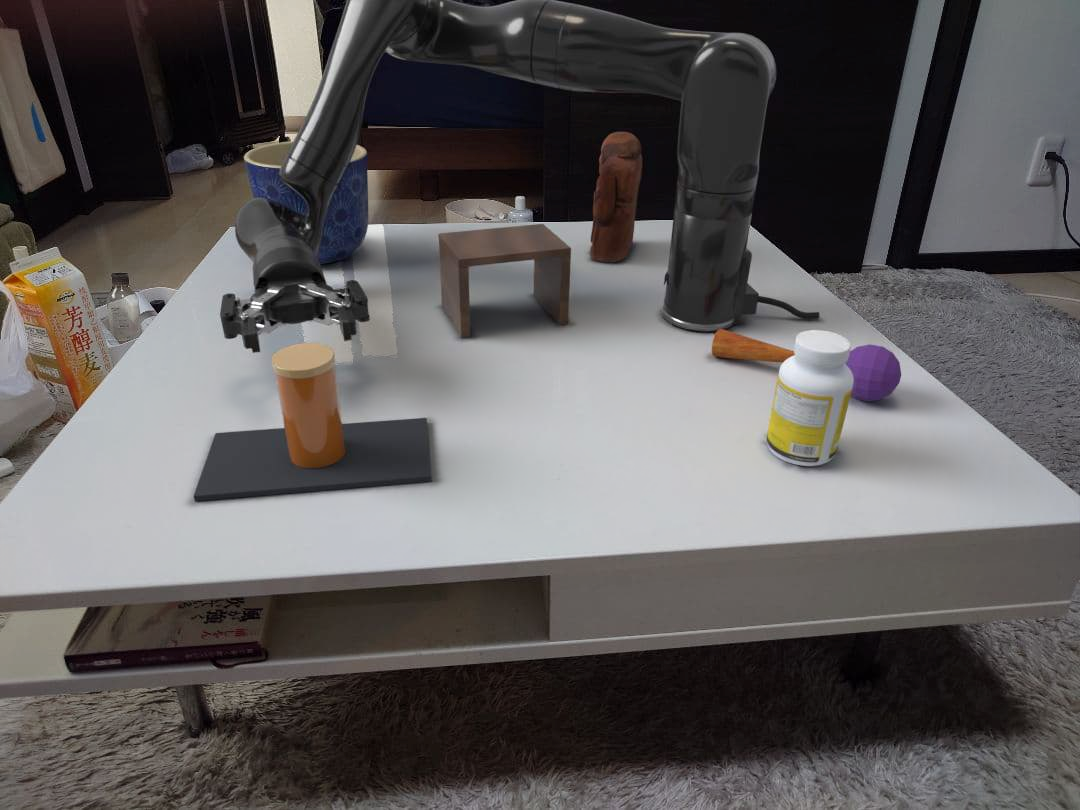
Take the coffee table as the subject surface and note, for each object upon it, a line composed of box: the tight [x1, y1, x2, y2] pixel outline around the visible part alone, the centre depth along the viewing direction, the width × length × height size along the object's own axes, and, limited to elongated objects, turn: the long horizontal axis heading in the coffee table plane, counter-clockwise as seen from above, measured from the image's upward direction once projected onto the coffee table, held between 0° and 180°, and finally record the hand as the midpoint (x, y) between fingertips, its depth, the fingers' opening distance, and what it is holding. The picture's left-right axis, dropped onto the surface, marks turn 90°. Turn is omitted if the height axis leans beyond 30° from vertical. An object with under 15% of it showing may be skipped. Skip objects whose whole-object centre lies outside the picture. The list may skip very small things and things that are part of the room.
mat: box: [193, 417, 433, 502], centre depth 71 cm, size 20×10×1 cm, turn 100°
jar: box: [270, 342, 346, 468], centre depth 69 cm, size 5×5×10 cm
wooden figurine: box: [589, 131, 643, 263], centre depth 117 cm, size 12×6×18 cm, turn 165°
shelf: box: [438, 223, 572, 339], centre depth 97 cm, size 14×10×10 cm
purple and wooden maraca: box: [711, 329, 902, 402], centre depth 85 cm, size 6×6×20 cm
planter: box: [243, 140, 370, 265], centre depth 114 cm, size 17×17×15 cm
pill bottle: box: [765, 329, 854, 467], centre depth 71 cm, size 6×6×12 cm
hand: (302, 337), depth 74 cm, fingers open, 8 cm apart
